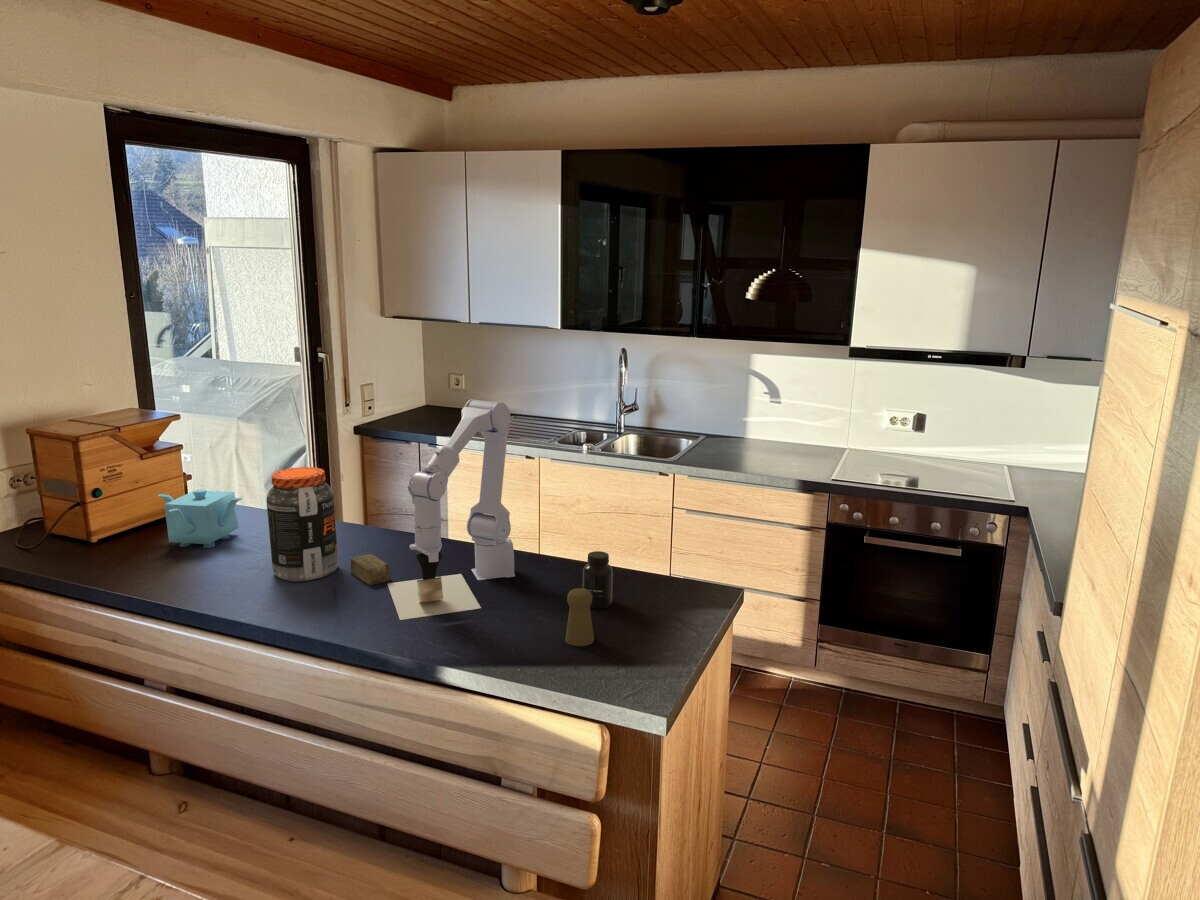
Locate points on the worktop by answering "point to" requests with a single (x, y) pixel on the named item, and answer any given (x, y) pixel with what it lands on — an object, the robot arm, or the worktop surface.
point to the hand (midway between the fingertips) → (428, 583)
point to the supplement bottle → (598, 579)
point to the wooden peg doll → (579, 618)
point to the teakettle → (201, 517)
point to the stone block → (370, 569)
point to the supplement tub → (302, 524)
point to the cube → (430, 589)
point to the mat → (453, 600)
